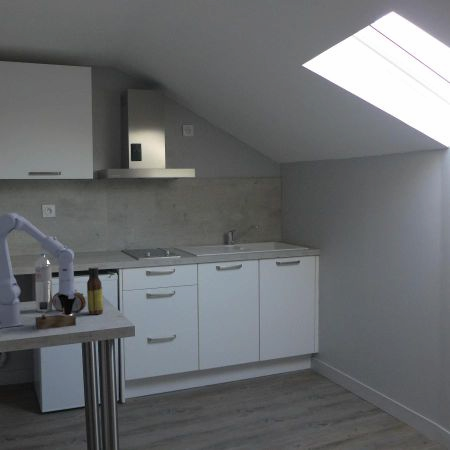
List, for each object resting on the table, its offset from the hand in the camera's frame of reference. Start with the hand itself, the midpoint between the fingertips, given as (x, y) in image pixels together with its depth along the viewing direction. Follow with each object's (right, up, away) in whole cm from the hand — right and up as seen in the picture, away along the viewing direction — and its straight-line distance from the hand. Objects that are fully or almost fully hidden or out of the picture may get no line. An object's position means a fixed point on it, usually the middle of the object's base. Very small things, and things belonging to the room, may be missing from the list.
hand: (67, 313), depth 239 cm
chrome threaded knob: (-8, -2, -4) cm, 9 cm away
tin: (-5, -3, +22) cm, 22 cm away
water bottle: (-16, -2, +22) cm, 28 cm away
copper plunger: (0, -4, 0) cm, 4 cm away
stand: (-4, -4, -2) cm, 6 cm away
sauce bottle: (+7, -3, +18) cm, 20 cm away
